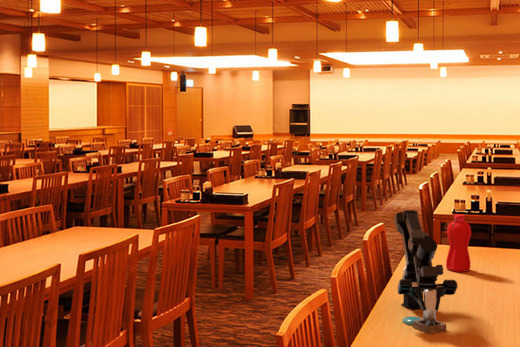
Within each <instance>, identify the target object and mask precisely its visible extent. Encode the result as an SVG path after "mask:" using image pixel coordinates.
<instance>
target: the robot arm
mask: <svg viewBox="0 0 520 347" xmlns="http://www.w3.org/2000/svg"><path fill="white" fill-rule="evenodd" d="M393 224H394V225H395V228H396V231H397V232H398V233H399V234H400V235H401V239H402V245H403V250H404V252H403V253H404V257H405V262H406V264H407V266H405V267H406V269H405V272H404V275H402V278H401V279H400V280H398V285H397V294H398V295H403V298H402V300H403V302H402V303H401V304H400V306H402V307H405V308H408V309H410V310H418V309H421V310H422V312H423V311H424V310H425V306H424V289H425V288H434V289H436V290H437V298H436V312H438V311H439V308H440V305H441V304H440V302H441V298H443V297H444V296H453V295H455V294H456V291H457V289H458V285H459V284H458V281H457V280H456V279H443V281H442V283H436V282H437V281H438V278H439V276H443V275H444V267H443V264H437V265H435V266H433V262H432V260H433V259H434V257H435V255H436V252H437V249H438V243H437V241H435V240H434V239H433V238H431V236H430V235H429V234H428V233H427V232H425V231H424V230H423V228H422V226H421V223H420V220H419V213H418V211H417V210H416V209H405V210H402V211H400V212H396V213H395V214H394V215H393Z"/></svg>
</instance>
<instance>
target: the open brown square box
mask: <svg viewBox="0 0 520 347" xmlns="http://www.w3.org/2000/svg"><path fill="white" fill-rule="evenodd" d="M412 328H414V329H415V330H417V331H421V332H423V333H426V334H428V335H431V334H435V333H441V332H445V331H447V324H446V323H444V322H441V321H439V320H437V319H436V325H434V326H430V327H429V326H426V325H424V324H423V318H422V320H417V321H413V325H412Z"/></svg>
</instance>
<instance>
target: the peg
mask: <svg viewBox="0 0 520 347" xmlns="http://www.w3.org/2000/svg"><path fill="white" fill-rule="evenodd" d="M436 298H437V290H436V289H434V288H425V289H424V291H423V301H424V306H425V310H424V311H423V310H422V312H423V314H422V317H423V318H422V319H423V324H424V325H426V326H429V327H430V326H434V325H436V320H437V310H436Z"/></svg>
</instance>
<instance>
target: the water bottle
mask: <svg viewBox="0 0 520 347" xmlns="http://www.w3.org/2000/svg"><path fill="white" fill-rule="evenodd" d="M453 217H454V219H453V221H451V222H450V223H449V224H448V225H447V229H446V231H447V232H446V233H447V241H446V242H447V245H448V246H449V249H448V252H447V256H446V261H445V267H446V269H447V270H448V271H449V270H450V271H452V272H455V273H461V272H463V273H464V272H469V271H470V270H471V258H470V253H469V243H470V240H471V236H472V229H471V225H470V224H469V223H467V222H466V221H465V215H464V214H459V213H458V214H455V215H454V216H453Z"/></svg>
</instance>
